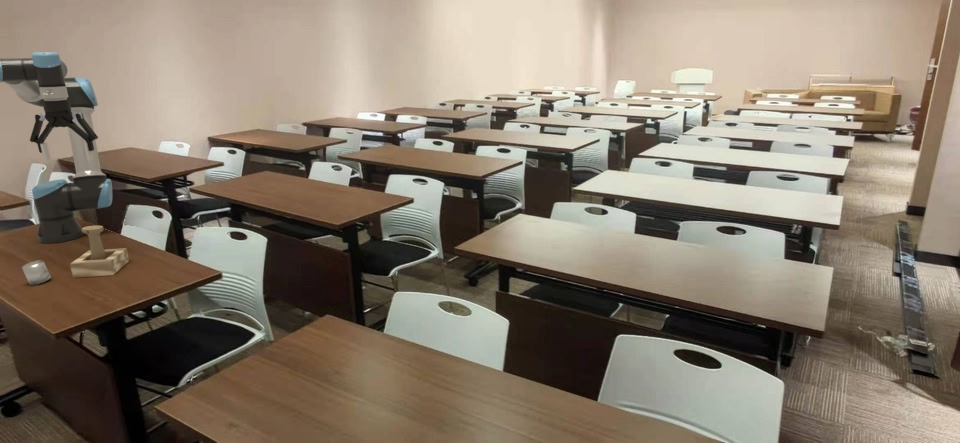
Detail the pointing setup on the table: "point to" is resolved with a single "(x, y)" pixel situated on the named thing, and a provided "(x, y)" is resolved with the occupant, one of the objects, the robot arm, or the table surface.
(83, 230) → the handle
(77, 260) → the socket block
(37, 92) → the robot arm
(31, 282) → the round plug
